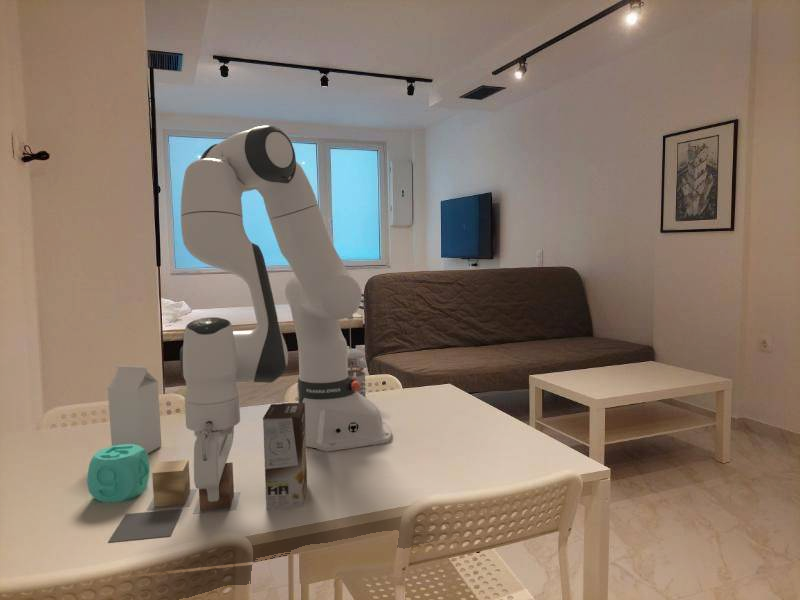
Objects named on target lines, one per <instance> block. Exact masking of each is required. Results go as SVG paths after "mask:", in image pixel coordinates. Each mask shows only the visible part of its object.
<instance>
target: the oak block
mask: <svg viewBox="0 0 800 600" xmlns="http://www.w3.org/2000/svg"><path fill="white" fill-rule="evenodd" d="M189 465H190V462H189V459H182V460H181V459H180V460H169V461H168V460H167V461H159V462H158V463H157V464H156V466H155V468H154V469H153V471H152V472H151V474H152V475H151V477H152V492H153V493H152V494H153V498H154V507H157V506H168V505H179V504H185V502H186V500H187V498H188V496H189V493H190V489H191V479H190V466H189Z"/></svg>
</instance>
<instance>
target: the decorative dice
mask: <svg viewBox="0 0 800 600" xmlns="http://www.w3.org/2000/svg"><path fill="white" fill-rule="evenodd" d="M149 457H150V456H149V453H148V454H147V452H146V451H145V450H144V449H143V448H142V447H140V446H139V445H135V444H122V445H115V446H112V445H111V446H108V447H104V448H102V449H100V450H98V451H96V452H95V453H94V455H93V456H92V458H91V460H90V462H89V466H88V468H87V469H88V470H87V479H86V481H87V488H88V492H89V494H90V495H91V496H92V497H93V498H94V499H95V500H96V501H99V502H101V503H116V502H117V503H118V502H119V503H120V502H124V501H127V500H130V499H134V498H136V497H139V496H140V495H141V494H143V493H144V491H145V490H147V489H146V488H147V486H148V483H149V479H150V478H149V477H150V458H149Z"/></svg>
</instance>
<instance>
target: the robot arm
mask: <svg viewBox="0 0 800 600" xmlns="http://www.w3.org/2000/svg"><path fill="white" fill-rule="evenodd" d="M296 158H297V157H296V152H295V148H294V146H293V143H292V141H291V139H290V138H289V137H288V136H287V134H286V133H285V132H284V131H283V130H282V129H280V128H279V127H277V126H274V125H261V126H255V127H253V128H251V129H248V130H244V131H241V132H237V133H235V134H232V135H230V136H229V137H227V138H226V139H224V140H222V141H221V142H219V143H215V144H213V145H211V146H208V148H207V149H206V150H205V151H204V152H203V153H202V154H201V156H200V158H199V159H197V160H194V161H192V162H191V163H190V164H189V165H188V166H187V167H186V169H185V171H184V176H183V181H182V188H181V196H180V197H181V198H180V226H181V227H180V230H181V237H182V241H183V245H184V247H185V249H186V250H187V252H189V254H190V255H192V257H194V258H195V259H196V260H198V261H199V262H201V263H203V264H205V265H208V266H209V267H213V268H216V269H218V270H219V269H220V270H222V271H225V272H228V273H231V274H232V275H233V274H234V275H235V276H237V277H239V278H241V279H242V280H243V281H244V282H245V283H246V285H247V286H248V288H249V292H250V296H251V302H252V305H253V306H252V307H253V310H254V315H255V319H256V324H257V325H256V327H254V329H247V330H245V329H244V330H234V329H233V325H232V322H231V321H230V320H228V319H226V318H221V317H216V316H215V317H214V316H213V317H201V318H198V319H195V320H193V321H192V320H191V321H190V322H189V323H188V324H186V325H185V329H184V336H183V344H182V346H181V347H180V351H179V363H180V365H179V366H180V367H179V368H180V375H181V376H182V377H183V378H184V380H185V385H186V390H185V394H184V413H185V427H186V428H187V429H188V430H190V431H193V432H194V434H193V435H194V436H195V438H196V439H195V442H194V446H193V482H194V485H195V489H197V490H199V489H206V490H207V494H208V501H210V502H213V501H218V500H219V497H220V487H219V482H220V479H221V476H222V473H223V470H224V467H225V464H226V463H227V461H228V458H229V455H230V453H231V449H232V446H233V441H234V436H235V435H234V434H235V426H236V425H238V424H239V423H240V422H241V414H240V413H241V408H240V405H241V404H240V391H239V388H238V385H237V383H250V382H253V383H265V384H266V383H269V384H271V383H274V382H275V381H276V380H277V379H279V378H280V377H281V376H282V375H283V374H284V373H285V372H286V370H287V367H288V362H289V352H288V347H287V344H286V340H285V338H284V335H283V332H282V331H281V328H280V326H279V319H278V313H277V309H276V305H275V304H276V303H275V299H274V294H273V291H272V286H271V280H270V277H269V274H268V270H267V266H266V262H265V257H264V254H263V251H262V250H261V248H260V246H259V245H258V244H255V243H254V242H252V241H251V239H250V238H249V237H248V235H247V233H246V230H245V226H244V218H243V216H244V215H243V205H242V196H243V193H245V192H249V191H250V192H251V191H253V190H256V191H257V192H258V193H259V194H260V196H261V197H262V198H263V204H264V206H265V211H266V213H267V217H268V221H269V223H270V226H271V229H272V231H273V234H274V237H275V240H276V243H277V246H278V248H279V251H280V253H281V255H282V256H283V257H284V259H285V260H286V262H287V263H288V265H289V266H290V268H291V269H292V271H293V273H294V274H292V275H291V276H290V277H289V279H288V280H287V282H286V284H285V290H284V292H285V298H286V300H287V302H288V304H289V307H290V311H291V316H292V323H293V326H294V331H295V335H296V340H297V341H296V342H297V348H298V367H299V368H298V369H299V370H298V371H299V373H298V374H299V377H298V379H297V384H296V387H297V388H296V389H297V390H296V391H297V401H298V402H297V403H305V429H306V448H307V447H308V448H314V449H317V450H319V451H321V452H333V451H340V450H341V451H342V450H347V449H354V448H361V447H367V446H373V445H379V444H380V445H381V444H386V443H389V442H390V441H391V440H392V439H393V432H392V428H391V427H390V425H389V424H387V422H384V421H383V420H382V415H381V412H380V410H379V408H378V406H377V405H376V404H375V403H374V402H372V401H371V400H370V399H368V398H365V397H364V396H362V395H361V394H359V393H358V392H357V391H358V390H359V389H360V387H361V386H360V383H359V382H358V381H357V380H356V379H355V378H354V377H355V376H354V377H353V376H352V377H351V376H349V375H348V366H349V365H348V362H349V361H348V359H347V349H348V343H347V339H346V338H345V337H344V335H343V332H342V329H341V326H340V322H339V321H341V320H345V319H347V318H348V317H350V316H352V315H353V316H354V314H355V313H356V312H357V311H358V309H360V306H361V302H362V295H363V294H362V289H361V287H360V285H359V283H358V282H357V280H356V279H355V278H353V276H352V275H351V274H350V272H349V271H348V269H347V268H346V266H345V264H344V263H343V262H344V261H342V258H341V257H340V254H338V252H337V250H336V248H335V246H334V244H333V242H332V240H331V238H330V236H329V233H328V231H327V230H328V229H327V227H326V225H325V221H324V218H323V216H322V212H321V209H320V207H319V203H318V200H317V197H316V195H315V192H314V189H313V187H312V185H311V182H310V181H309V178H308V176H307V174H306V173H305V171H304V169H303V168H302V166H301V165H300V163H298V161H297V159H296Z"/></svg>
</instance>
